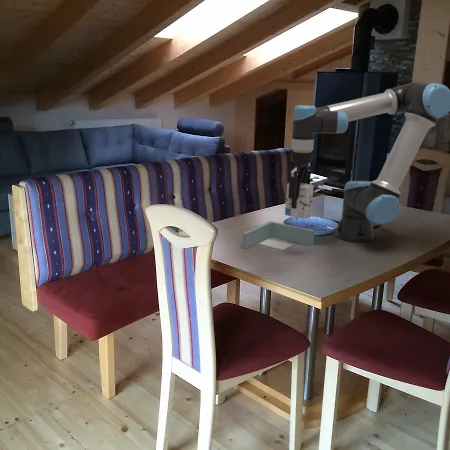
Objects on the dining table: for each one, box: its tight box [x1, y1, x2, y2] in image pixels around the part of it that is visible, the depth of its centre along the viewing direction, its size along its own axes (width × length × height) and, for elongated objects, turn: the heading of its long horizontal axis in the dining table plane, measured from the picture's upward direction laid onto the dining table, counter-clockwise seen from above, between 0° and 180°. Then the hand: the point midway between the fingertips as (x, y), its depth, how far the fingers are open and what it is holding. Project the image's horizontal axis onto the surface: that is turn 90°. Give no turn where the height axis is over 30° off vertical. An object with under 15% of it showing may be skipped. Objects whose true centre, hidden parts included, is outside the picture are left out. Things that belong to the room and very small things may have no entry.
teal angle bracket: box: [242, 220, 315, 249], centre depth 193 cm, size 20×20×6 cm
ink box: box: [284, 183, 315, 220], centre depth 181 cm, size 9×5×12 cm, turn 52°
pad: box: [258, 238, 293, 251], centre depth 195 cm, size 11×7×1 cm, turn 54°
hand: (297, 214), depth 183 cm, fingers closed on ink box, 5 cm apart
